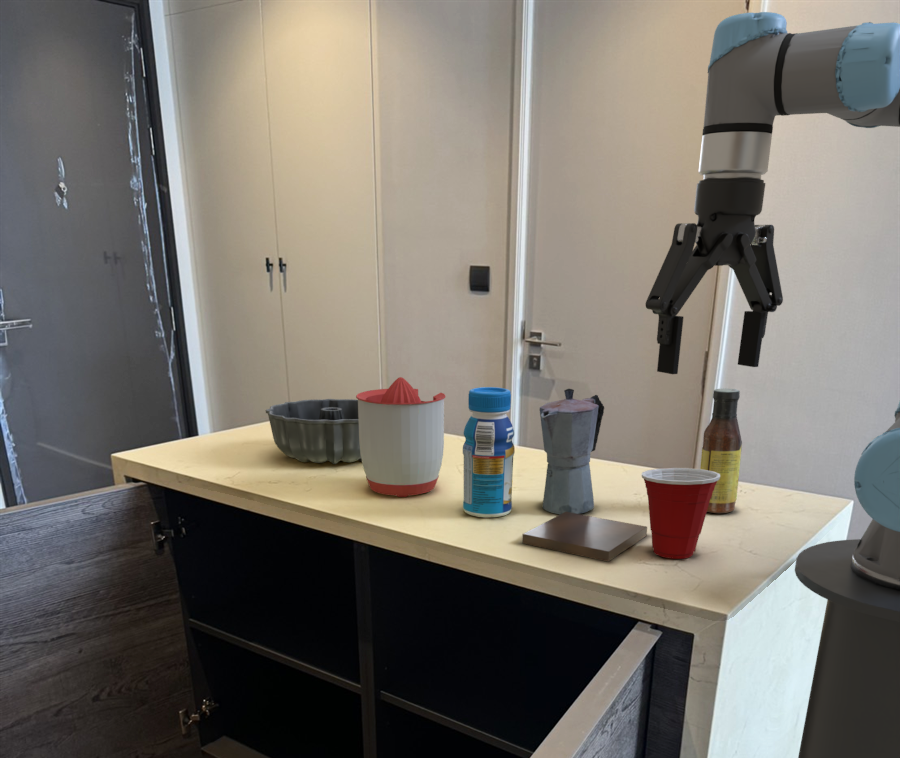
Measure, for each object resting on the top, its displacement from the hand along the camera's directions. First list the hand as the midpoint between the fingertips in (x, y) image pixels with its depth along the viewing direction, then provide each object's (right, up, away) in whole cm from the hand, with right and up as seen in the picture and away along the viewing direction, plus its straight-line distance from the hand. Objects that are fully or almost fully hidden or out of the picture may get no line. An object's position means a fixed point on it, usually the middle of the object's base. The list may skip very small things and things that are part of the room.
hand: (708, 369), depth 106 cm
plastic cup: (+1, -22, +19) cm, 29 cm away
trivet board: (-11, -19, +24) cm, 33 cm away
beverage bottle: (-26, -14, +38) cm, 48 cm away
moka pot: (-12, -13, +40) cm, 44 cm away
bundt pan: (-56, +2, +75) cm, 94 cm away
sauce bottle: (+13, -13, +39) cm, 44 cm away
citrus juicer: (-40, -8, +51) cm, 66 cm away
